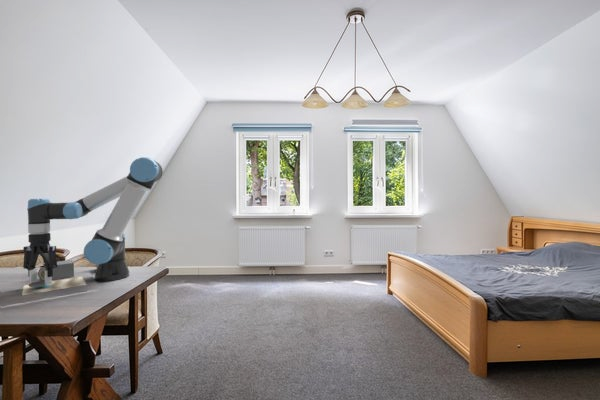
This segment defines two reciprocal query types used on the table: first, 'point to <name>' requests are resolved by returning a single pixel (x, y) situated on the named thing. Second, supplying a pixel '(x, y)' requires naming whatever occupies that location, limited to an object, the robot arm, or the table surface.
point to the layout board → (54, 286)
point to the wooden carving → (60, 257)
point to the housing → (63, 270)
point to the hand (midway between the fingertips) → (40, 284)
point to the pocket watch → (41, 276)
